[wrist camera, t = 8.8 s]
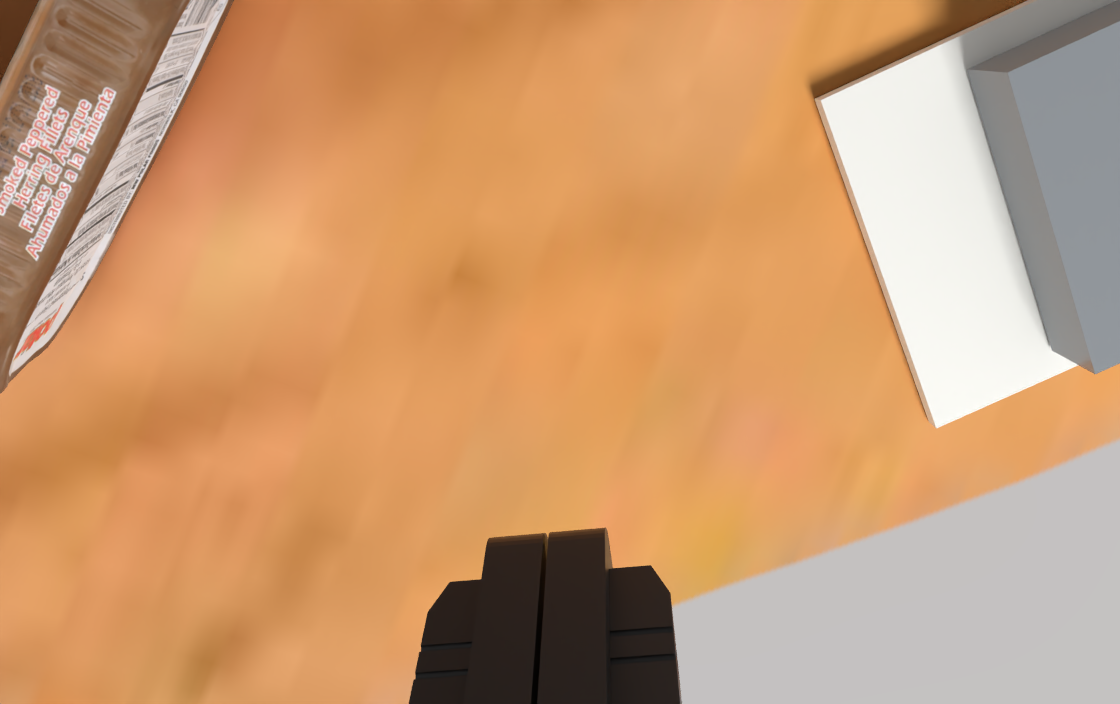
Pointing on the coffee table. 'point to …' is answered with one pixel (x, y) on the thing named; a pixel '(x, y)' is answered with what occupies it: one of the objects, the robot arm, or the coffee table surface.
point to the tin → (83, 145)
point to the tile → (1063, 175)
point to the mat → (946, 215)
